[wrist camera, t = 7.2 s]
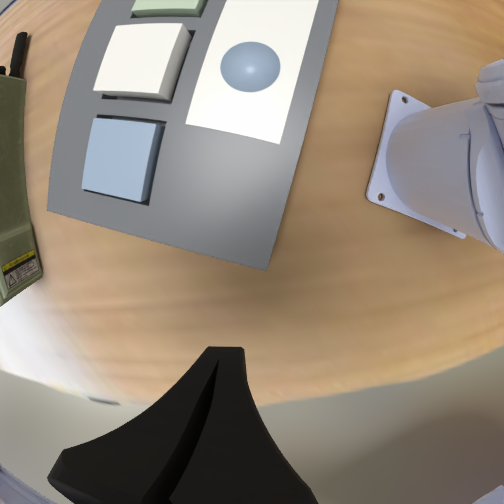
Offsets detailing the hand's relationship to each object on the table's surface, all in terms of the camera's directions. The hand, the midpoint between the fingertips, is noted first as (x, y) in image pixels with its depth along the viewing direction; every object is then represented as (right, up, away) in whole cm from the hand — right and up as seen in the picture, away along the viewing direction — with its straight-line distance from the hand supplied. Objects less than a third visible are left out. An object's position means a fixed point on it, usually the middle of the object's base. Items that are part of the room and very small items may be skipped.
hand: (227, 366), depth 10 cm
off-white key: (-5, +16, +3) cm, 17 cm away
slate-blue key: (-7, +10, +6) cm, 14 cm away
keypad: (-2, +18, +4) cm, 19 cm away
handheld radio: (-20, +14, +7) cm, 26 cm away
